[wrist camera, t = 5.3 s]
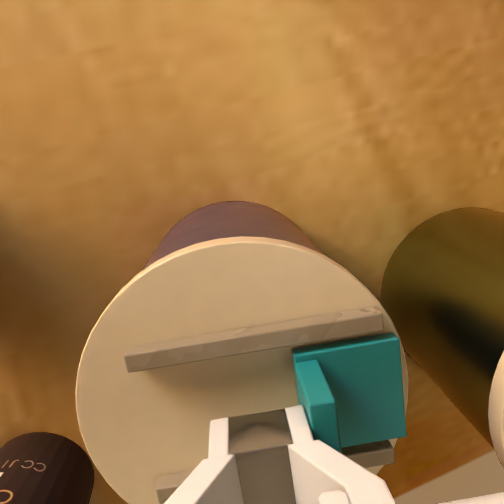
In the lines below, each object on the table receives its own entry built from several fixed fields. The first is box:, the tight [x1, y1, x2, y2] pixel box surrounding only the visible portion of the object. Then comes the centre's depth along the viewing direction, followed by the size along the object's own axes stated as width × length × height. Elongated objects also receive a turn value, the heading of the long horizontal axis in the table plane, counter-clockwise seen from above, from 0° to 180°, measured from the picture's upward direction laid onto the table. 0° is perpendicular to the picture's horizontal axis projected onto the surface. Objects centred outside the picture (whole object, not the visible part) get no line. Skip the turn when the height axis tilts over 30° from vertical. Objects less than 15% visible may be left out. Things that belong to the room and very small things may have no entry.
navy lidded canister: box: [75, 201, 408, 504], centre depth 19 cm, size 10×10×13 cm
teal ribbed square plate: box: [291, 333, 406, 454], centre depth 12 cm, size 3×3×3 cm
